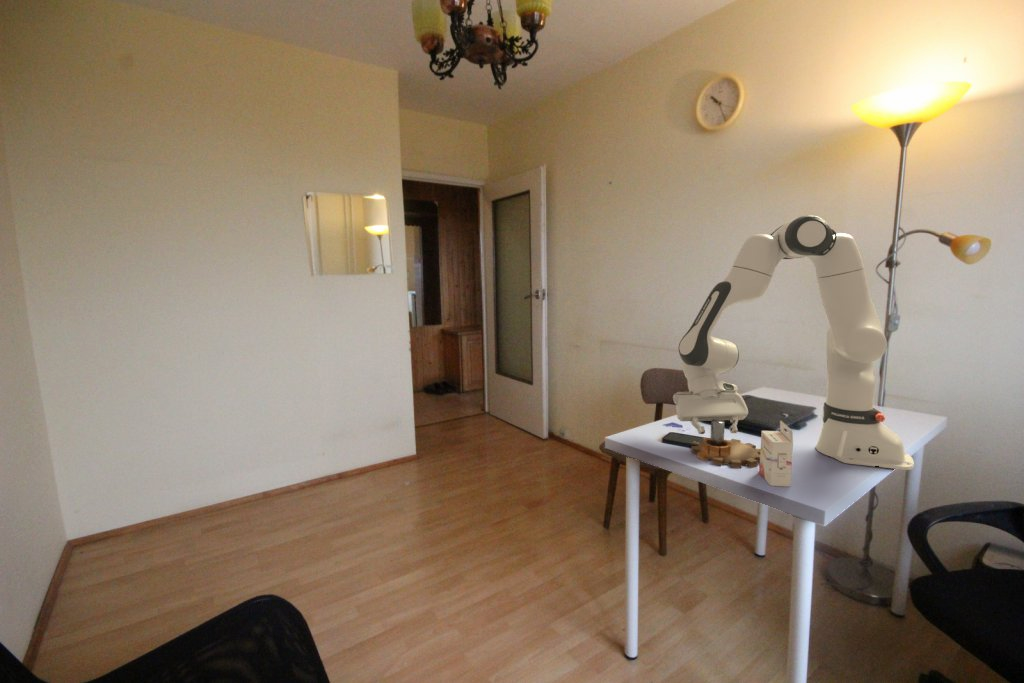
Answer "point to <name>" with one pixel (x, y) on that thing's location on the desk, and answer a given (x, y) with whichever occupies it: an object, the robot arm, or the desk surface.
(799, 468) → the desk surface
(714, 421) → the pin
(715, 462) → the sprocket
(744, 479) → the desk surface
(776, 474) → the ink cartridge box
